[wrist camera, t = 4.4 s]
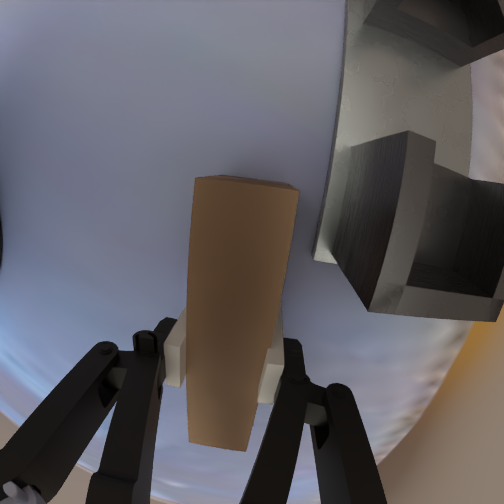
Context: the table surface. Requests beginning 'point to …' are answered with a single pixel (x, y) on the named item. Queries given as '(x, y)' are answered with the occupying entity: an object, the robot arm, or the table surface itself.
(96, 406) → the robot arm
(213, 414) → the rail
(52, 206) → the table surface
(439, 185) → the grey rectangular holder
